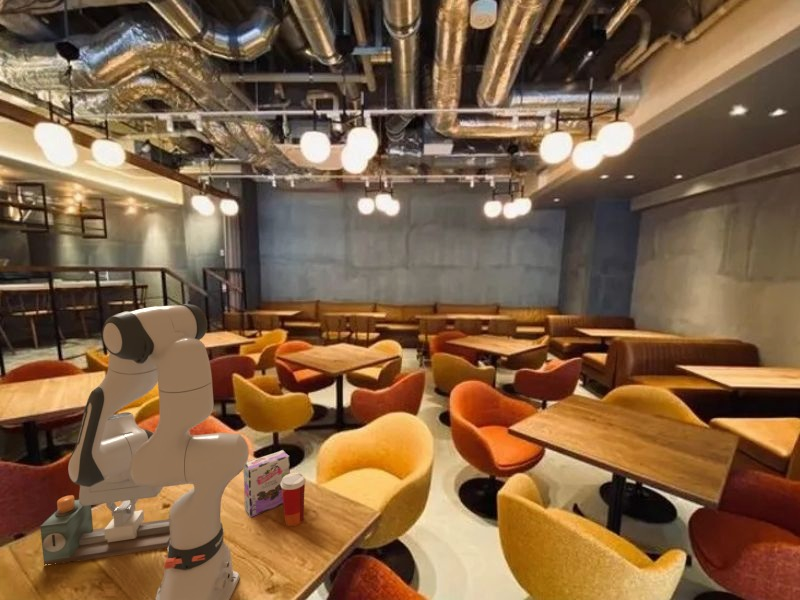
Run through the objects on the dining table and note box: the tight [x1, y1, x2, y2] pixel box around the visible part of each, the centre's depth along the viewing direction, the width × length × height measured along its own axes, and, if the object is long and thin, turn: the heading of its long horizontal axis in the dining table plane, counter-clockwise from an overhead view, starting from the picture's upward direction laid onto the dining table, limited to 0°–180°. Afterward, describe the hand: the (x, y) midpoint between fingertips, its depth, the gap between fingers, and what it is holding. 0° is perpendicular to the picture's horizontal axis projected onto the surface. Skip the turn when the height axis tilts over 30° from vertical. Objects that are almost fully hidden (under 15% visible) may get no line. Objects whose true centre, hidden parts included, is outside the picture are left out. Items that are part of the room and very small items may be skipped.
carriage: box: [104, 500, 145, 542], centre depth 109 cm, size 7×7×9 cm
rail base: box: [39, 499, 170, 566], centre depth 108 cm, size 12×30×12 cm, turn 103°
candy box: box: [243, 449, 291, 518], centre depth 125 cm, size 14×6×16 cm, turn 129°
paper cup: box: [280, 472, 307, 527], centre depth 117 cm, size 8×8×14 cm
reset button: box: [56, 494, 76, 513], centre depth 105 cm, size 4×4×3 cm
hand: (123, 513), depth 109 cm, fingers closed on carriage, 2 cm apart
